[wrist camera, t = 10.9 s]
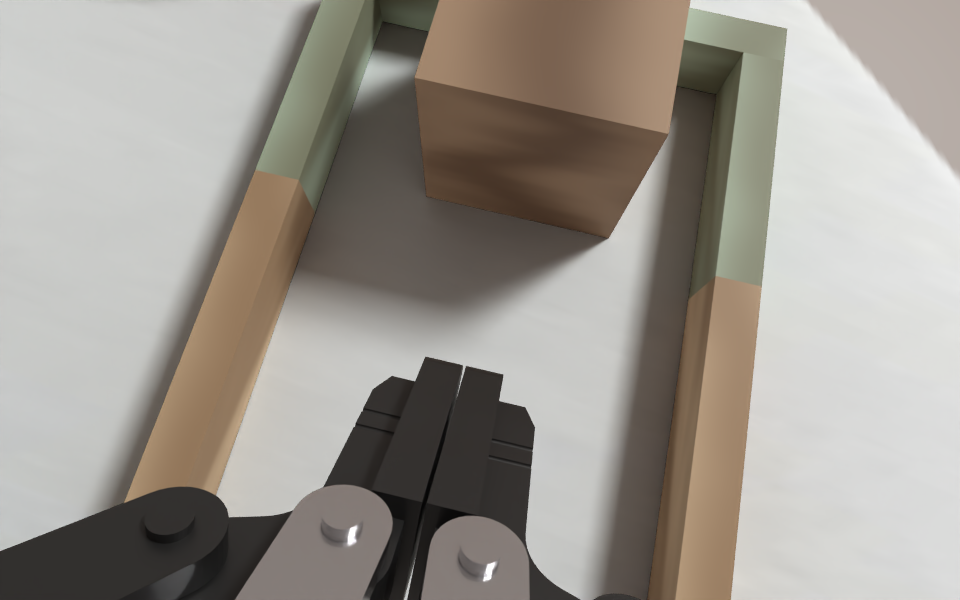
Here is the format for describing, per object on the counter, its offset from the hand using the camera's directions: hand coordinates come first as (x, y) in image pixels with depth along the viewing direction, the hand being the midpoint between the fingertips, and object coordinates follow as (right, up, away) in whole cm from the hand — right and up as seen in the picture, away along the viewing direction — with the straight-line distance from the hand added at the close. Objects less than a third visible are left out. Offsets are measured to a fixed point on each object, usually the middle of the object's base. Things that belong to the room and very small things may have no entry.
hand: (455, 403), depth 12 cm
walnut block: (+3, +8, +13) cm, 15 cm away
